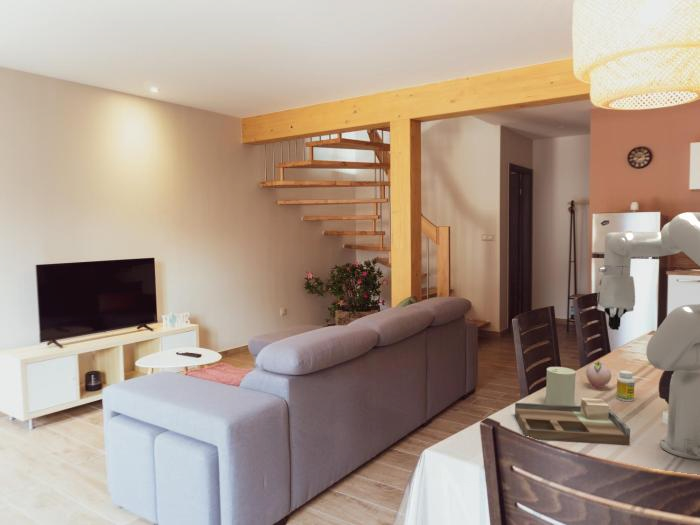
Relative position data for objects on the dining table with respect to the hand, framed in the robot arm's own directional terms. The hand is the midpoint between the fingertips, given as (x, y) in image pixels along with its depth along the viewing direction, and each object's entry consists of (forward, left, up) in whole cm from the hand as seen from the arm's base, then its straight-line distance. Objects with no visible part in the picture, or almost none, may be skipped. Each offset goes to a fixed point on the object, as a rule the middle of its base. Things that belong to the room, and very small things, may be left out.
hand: (614, 328), depth 170 cm
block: (-12, +9, -25) cm, 29 cm away
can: (+6, +14, -27) cm, 31 cm away
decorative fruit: (+27, -5, -27) cm, 39 cm away
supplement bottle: (+15, -10, -27) cm, 33 cm away
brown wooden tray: (-17, +18, -27) cm, 36 cm away
